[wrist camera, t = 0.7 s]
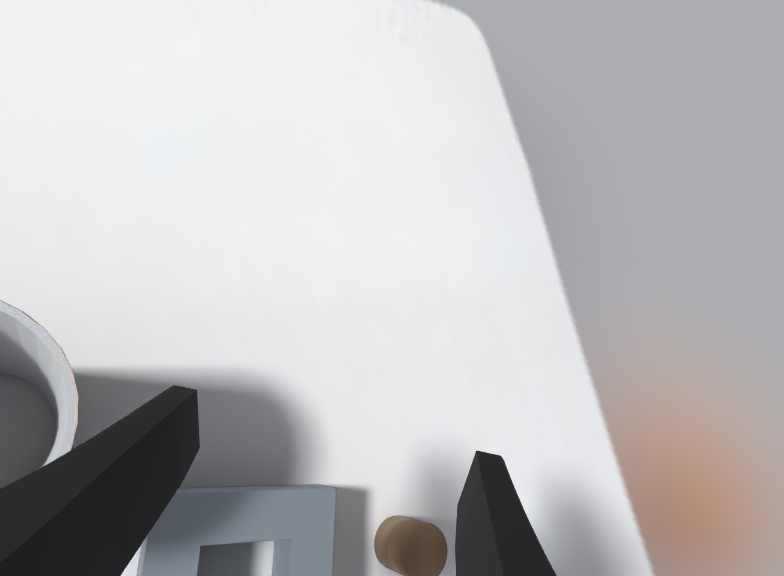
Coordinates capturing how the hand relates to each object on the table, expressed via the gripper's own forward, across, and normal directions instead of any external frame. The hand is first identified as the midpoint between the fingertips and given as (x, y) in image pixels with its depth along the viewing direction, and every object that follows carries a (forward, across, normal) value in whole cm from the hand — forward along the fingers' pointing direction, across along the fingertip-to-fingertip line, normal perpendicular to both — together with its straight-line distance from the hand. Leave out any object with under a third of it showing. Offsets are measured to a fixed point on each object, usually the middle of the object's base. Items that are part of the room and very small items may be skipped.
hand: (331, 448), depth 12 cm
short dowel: (+10, -4, +18) cm, 21 cm away
